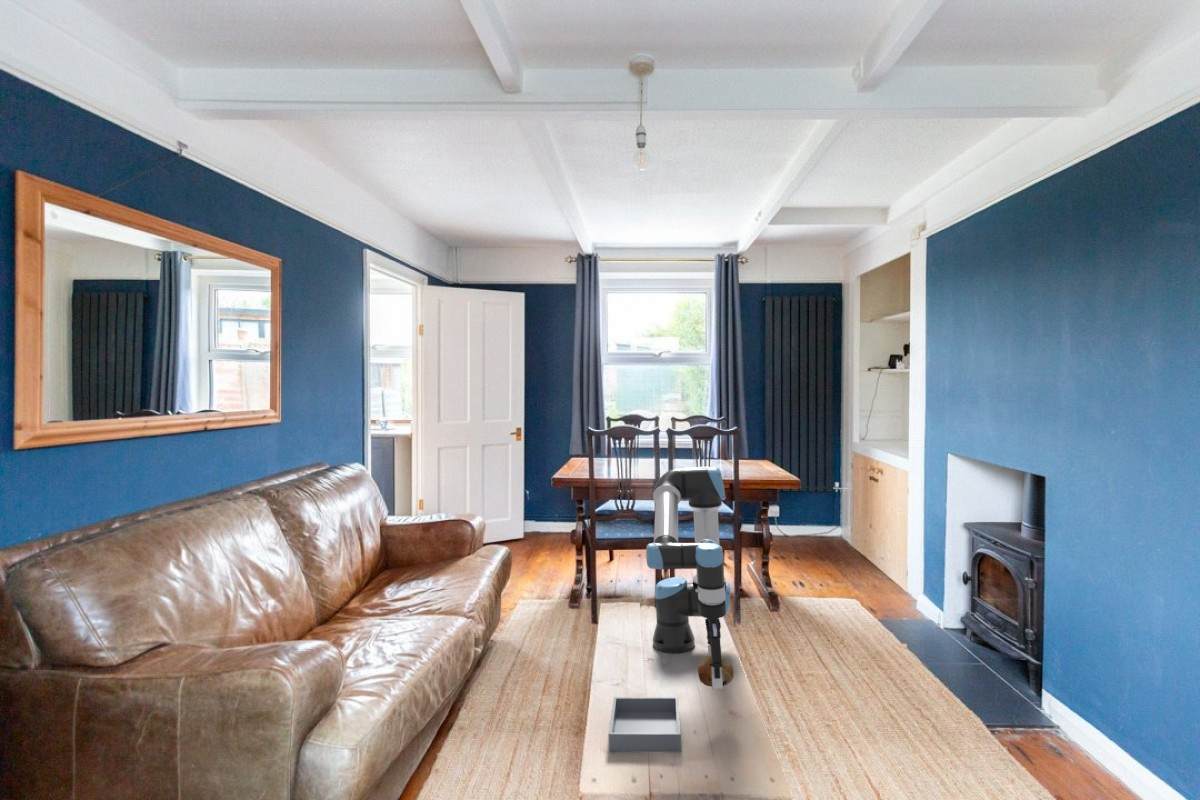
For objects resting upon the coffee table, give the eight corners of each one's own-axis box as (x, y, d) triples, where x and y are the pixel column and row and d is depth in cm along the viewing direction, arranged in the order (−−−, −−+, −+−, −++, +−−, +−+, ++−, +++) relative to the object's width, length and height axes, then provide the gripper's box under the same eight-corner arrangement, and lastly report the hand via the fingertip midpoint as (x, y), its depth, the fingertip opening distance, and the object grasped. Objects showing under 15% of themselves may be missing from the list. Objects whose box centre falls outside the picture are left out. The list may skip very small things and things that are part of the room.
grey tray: (614, 712, 174) (613, 697, 174) (678, 712, 172) (678, 696, 172) (609, 751, 155) (608, 734, 155) (681, 751, 153) (680, 734, 153)
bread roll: (735, 687, 169) (735, 657, 172) (730, 689, 160) (731, 657, 163) (700, 683, 173) (701, 653, 176) (694, 685, 164) (695, 653, 167)
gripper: (695, 586, 179) (699, 658, 180) (701, 617, 156) (705, 700, 157) (720, 585, 178) (724, 658, 179) (730, 616, 155) (734, 699, 156)
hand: (715, 677), depth 168 cm, fingers closed on bread roll, 10 cm apart
